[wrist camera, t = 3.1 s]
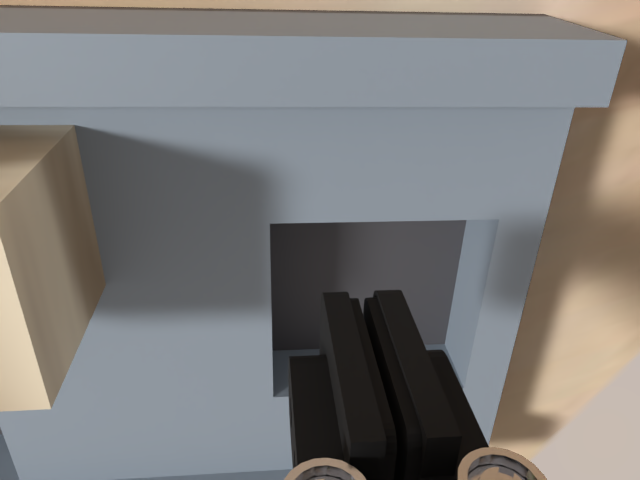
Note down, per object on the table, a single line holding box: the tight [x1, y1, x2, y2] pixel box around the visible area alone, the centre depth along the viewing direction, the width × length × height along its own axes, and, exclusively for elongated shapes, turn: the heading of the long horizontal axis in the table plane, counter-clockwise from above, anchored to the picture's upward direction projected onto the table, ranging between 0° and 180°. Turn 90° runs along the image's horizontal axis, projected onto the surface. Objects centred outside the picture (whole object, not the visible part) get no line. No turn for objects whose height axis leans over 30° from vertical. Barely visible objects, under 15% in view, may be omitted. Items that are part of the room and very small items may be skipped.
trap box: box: [0, 5, 627, 480], centre depth 17 cm, size 32×18×6 cm, turn 88°
